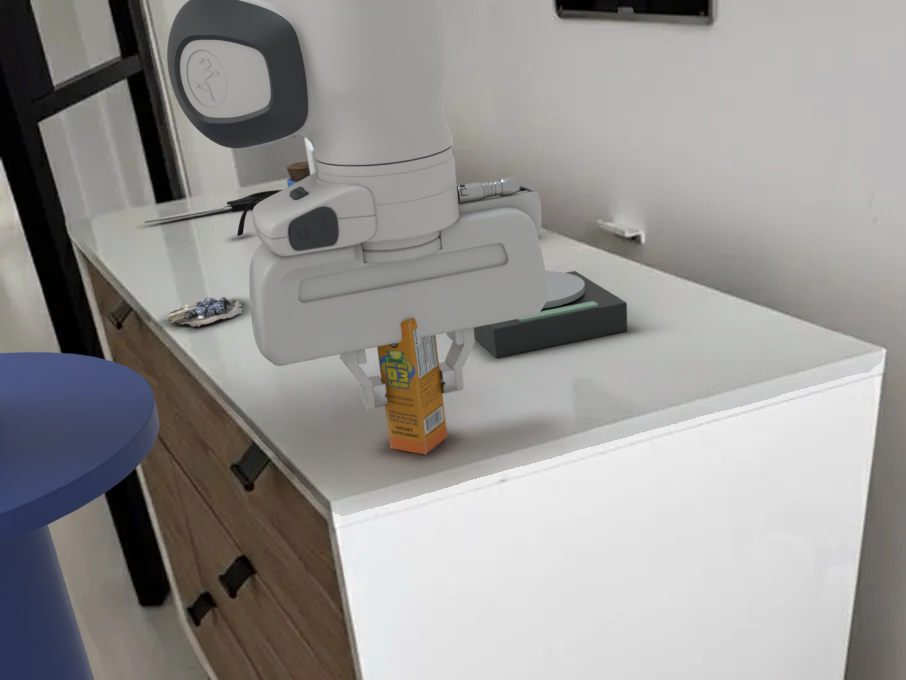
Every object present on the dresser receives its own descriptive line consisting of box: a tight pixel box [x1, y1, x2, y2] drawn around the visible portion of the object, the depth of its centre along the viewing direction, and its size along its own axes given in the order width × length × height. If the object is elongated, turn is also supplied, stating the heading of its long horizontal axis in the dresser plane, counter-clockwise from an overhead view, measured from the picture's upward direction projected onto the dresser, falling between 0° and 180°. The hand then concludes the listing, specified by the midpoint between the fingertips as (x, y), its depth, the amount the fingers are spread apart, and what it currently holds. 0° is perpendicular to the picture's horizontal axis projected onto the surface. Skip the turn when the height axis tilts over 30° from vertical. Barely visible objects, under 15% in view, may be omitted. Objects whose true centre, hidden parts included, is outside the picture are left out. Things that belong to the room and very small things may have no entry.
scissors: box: [144, 189, 281, 224], centre depth 155 cm, size 7×1×20 cm
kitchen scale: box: [474, 270, 628, 359], centre depth 106 cm, size 12×11×3 cm
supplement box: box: [376, 318, 448, 455], centre depth 85 cm, size 3×3×10 cm
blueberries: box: [167, 296, 244, 328], centre depth 118 cm, size 7×8×2 cm
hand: (412, 397), depth 86 cm, fingers closed on supplement box, 4 cm apart
